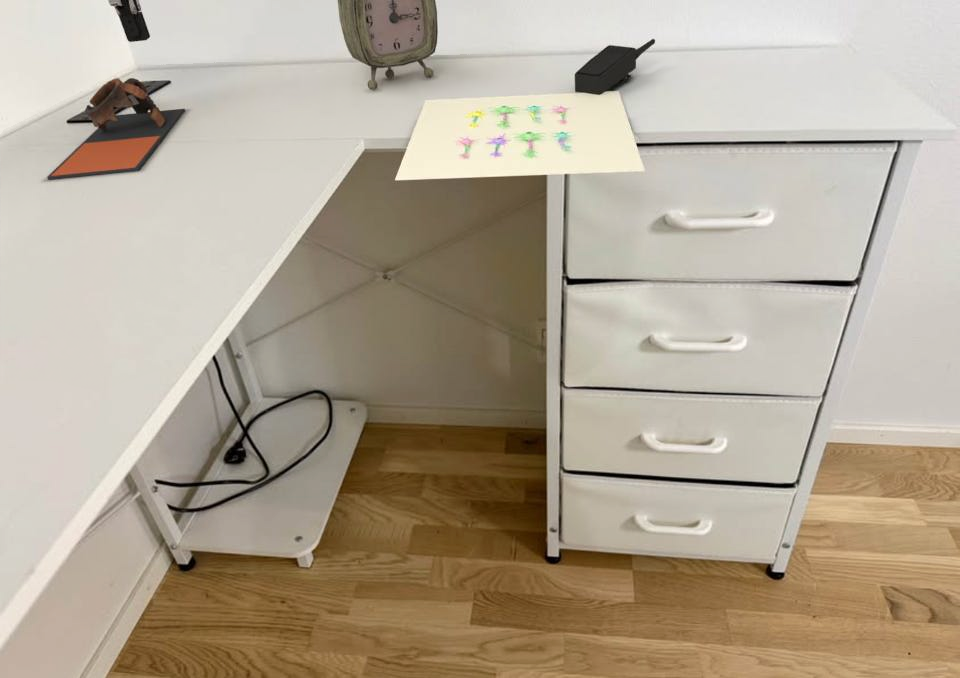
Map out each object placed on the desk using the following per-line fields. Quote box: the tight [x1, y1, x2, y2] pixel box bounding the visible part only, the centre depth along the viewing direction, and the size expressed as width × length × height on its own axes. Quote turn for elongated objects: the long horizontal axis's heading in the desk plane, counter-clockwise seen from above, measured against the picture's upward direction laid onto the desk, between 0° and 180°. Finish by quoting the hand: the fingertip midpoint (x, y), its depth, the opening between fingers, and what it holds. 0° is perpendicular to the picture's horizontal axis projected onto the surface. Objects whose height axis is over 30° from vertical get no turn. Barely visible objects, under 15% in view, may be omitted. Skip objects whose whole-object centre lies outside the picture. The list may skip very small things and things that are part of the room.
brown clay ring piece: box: [84, 77, 165, 130], centre depth 105 cm, size 12×10×8 cm
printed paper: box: [394, 90, 646, 181], centre depth 93 cm, size 30×30×2 cm
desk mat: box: [46, 108, 186, 181], centre depth 102 cm, size 12×26×1 cm, turn 6°
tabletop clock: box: [337, 0, 439, 91], centre depth 112 cm, size 14×9×25 cm, turn 120°
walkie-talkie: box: [574, 38, 656, 95], centre depth 109 cm, size 6×6×20 cm
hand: (139, 39), depth 111 cm, fingers closed
